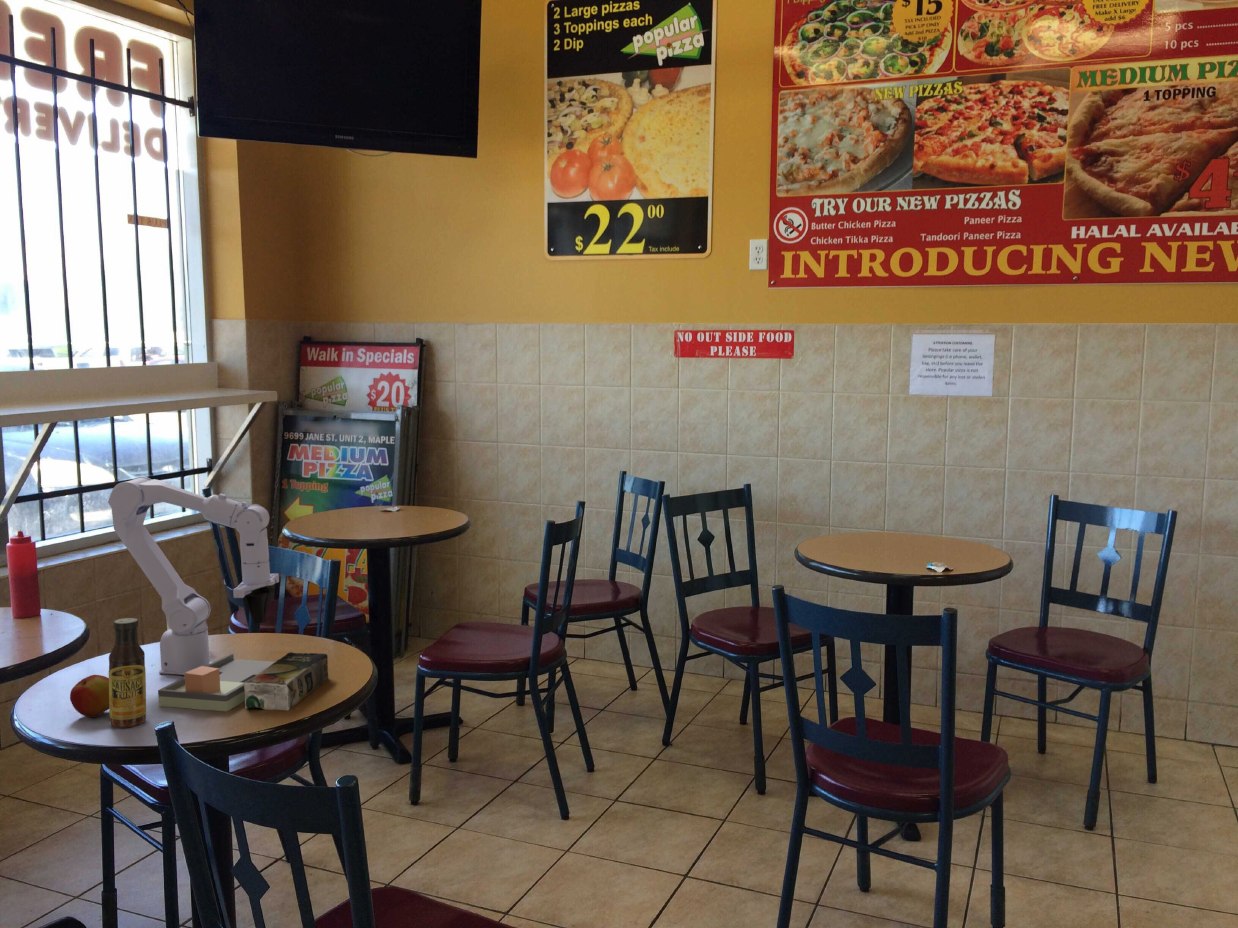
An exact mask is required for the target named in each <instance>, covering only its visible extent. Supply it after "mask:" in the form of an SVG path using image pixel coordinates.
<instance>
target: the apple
mask: <svg viewBox="0 0 1238 928" xmlns="http://www.w3.org/2000/svg"><path fill="white" fill-rule="evenodd" d="M69 699H70V700H69V701H70V704H71V705H72V707H73V709H74V710H75V711H76V712H77V713H79V714H80V715H81V716H85V717H87V718H95V717H98V716H100V715H101V714H103V713H104V712H107V711H108V710H109V677H107V676H104V675H101V674H92V675H89V676H86V677H84V678H83V679H81V680H79V681H78V682H77V683H76V684H75V685H74V686H73V687H72V688H71V691H70V695H69Z"/></svg>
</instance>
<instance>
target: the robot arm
mask: <svg viewBox="0 0 1238 928" xmlns="http://www.w3.org/2000/svg"><path fill="white" fill-rule="evenodd" d="M107 503H108V505H109V507H110V508H111V514H112V526H113V530H114V532H115V533H116V535H117V537H118V538H119V539H120V540H121V542H122V543H123V545H124V546H125V548H126V549H127V550H128V552H129V554H130V555H131V556H132V557H133V559H134V561H135V562H136V564H137V565H138V567H140V569H141V570H142V572H143V573H144V574H145V576H146V578H147V579H148V580H149V582H150V583H151V585H152V586H153V588H154V589H155V590H156V592H157V593H158V594H159V596H160V598H161V610H162V611H163V613H164V614H165V617H166V618H167V620H166V625H167V624H168V626H169V628H170V629H169V630H168V629H167V630H165V631H164V632H163V634H162V635H161V638H160V642H159V652H160V655H159V656H160V669H161V670H160V669H159V671H158V673H159V674H166V675H180V676H185V672H188V671H190V670H193V669H195V668H198V667H200V666H207V665H209V664H211V663H213V662H214V661H210V646H209V630H208V628H209V626H208V624H207V621H206V620H208V618H209V616H210V614H211V604H210V602H209V600H207V599H206V598H205V597H203V596H201V595H200V594H199V593H198V592H197V591H196V590H195V588H193V587H191V586H190V585H188V584H186V583H184V581H183V580H182V578H181V576H180V575H179V574H178V572H177V571H176V569H175V568H174V566H173V565H172V564H171V562H170V560H169V559H168V558H167V556H166V555H165V554H164V552H163V551H162V549H161V548H160V546H159V545H158V543H157V542H156V541H155V539H154V538H153V536H152V535H151V534H150V531H148V529H147V527H146V526H145V525H144V523H145V519H146V516H147V513H148V511H149V509H150V508H151V506H153V505H156V504H160V503H166V504H169V505H173V506H178V507H180V508H185V509H187V510H193V511H195V512H200V513H201V514H202V517H203V518H204V520H206V521H210V522H212V523H215V524H218V525H219V524H220V525H222V526H225V527H229V528H232V529H235V530H236V531H237V532H238V533H239V548H240V560H241V561H240V562H241V576H242V581H241V582H240V583H239V584H238V585H237V587H235V588H233V589H232V590H233V591H232V592H233V598H234V599H242V600H243V601H244V603H245V604H246V606H247V608H248V611H249V613H250V616H251V619H252V622H253V623H254V624H262V623H265V622H266V618H267V614H268V608H269V604H270V601H271V599H272V596H273V594H274V592H275V590H274V587H268V586H274V585H275V584H277V583H279V582H280V575H279V573H271V569H270V552H269V539H268V529H267V528H266V527H267V526H268V525H269V524H270V523H269V522H270V514H269V511H268V510H267V509H266V508H265V507H263V505H262V506H261V505H260V504H258V503H254V504H250V505H249V504H248V503H249V502H246V501H245V500H244V501H241V502H240V501H238V500H237V501H236V500H233V499H231V498H229V497H228V498H227V495H226V494H224V493H219V494H212V495H210V496H208V497H206V496H203V495H201V494H198V493H195V492H193V491H189V490H187V489H183V488H180V487H177V486H176V485H172V484H170V483H167V482H165V481H162V480H159V479H156V478H154V479H151V478H150V477H146V476H138V477H135V478H133V479H131V480H128V481H123V482H119V483H117V484H116V485H115V486H114V487H113V488H112V491H111V493H110V495H109V497H108V500H107Z"/></svg>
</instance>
